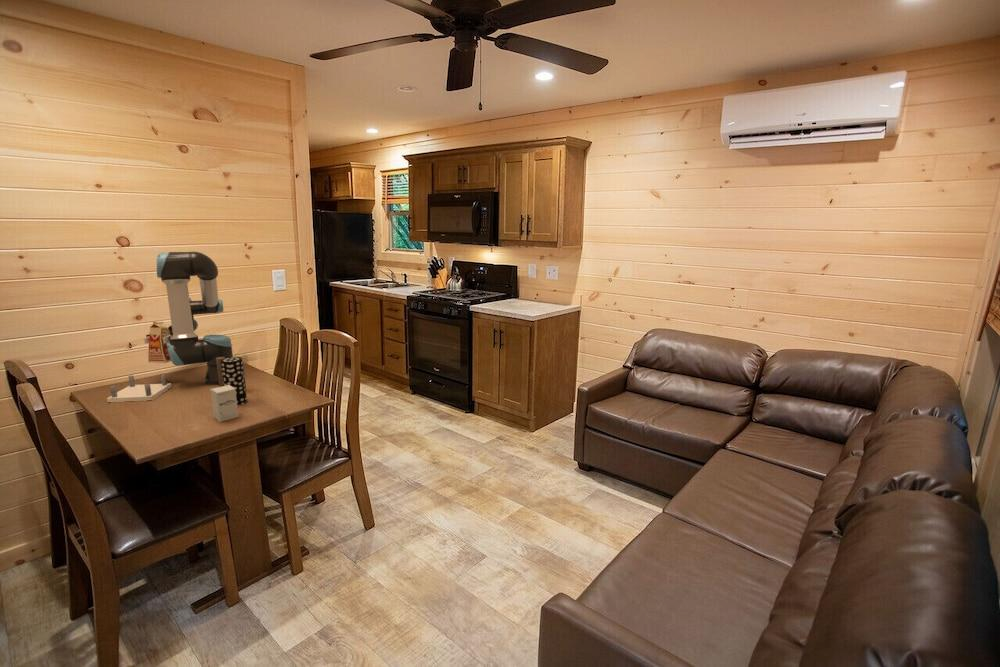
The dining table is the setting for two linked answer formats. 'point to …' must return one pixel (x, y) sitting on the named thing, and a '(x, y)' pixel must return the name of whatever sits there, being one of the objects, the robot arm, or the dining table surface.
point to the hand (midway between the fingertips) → (154, 340)
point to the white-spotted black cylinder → (234, 377)
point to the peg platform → (139, 391)
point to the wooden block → (221, 371)
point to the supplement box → (224, 403)
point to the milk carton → (158, 344)
